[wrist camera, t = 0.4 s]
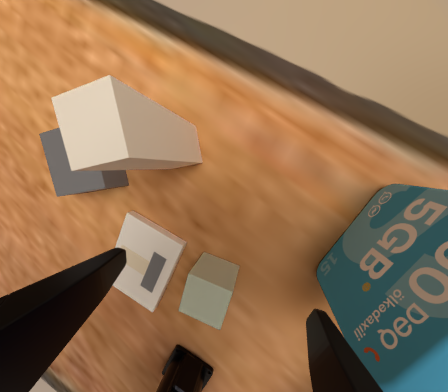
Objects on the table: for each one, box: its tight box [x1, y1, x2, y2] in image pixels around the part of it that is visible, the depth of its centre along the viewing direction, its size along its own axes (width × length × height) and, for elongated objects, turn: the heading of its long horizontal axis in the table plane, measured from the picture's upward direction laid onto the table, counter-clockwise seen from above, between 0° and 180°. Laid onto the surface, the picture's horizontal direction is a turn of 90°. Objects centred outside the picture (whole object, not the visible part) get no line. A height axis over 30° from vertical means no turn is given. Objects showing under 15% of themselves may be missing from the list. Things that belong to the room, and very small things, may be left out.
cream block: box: [52, 75, 203, 171], centre depth 16 cm, size 4×4×12 cm
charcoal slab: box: [40, 128, 129, 197], centre depth 23 cm, size 8×8×4 cm
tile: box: [113, 211, 187, 312], centre depth 25 cm, size 12×9×1 cm
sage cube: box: [179, 252, 240, 330], centre depth 21 cm, size 5×5×5 cm
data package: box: [317, 184, 448, 392], centre depth 13 cm, size 12×4×12 cm, turn 151°
